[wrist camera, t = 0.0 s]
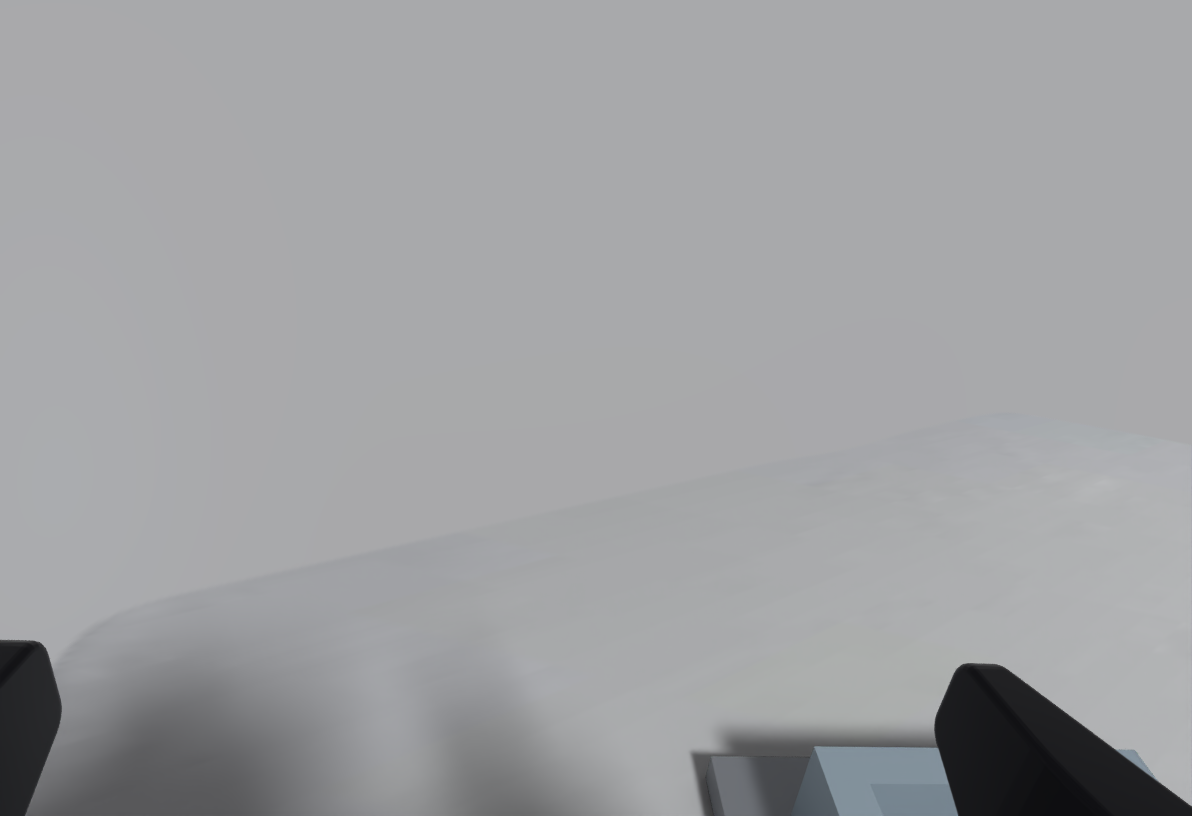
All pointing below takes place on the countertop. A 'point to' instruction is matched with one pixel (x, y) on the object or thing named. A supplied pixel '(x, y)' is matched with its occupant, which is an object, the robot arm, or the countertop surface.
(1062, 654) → the countertop surface
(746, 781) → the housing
